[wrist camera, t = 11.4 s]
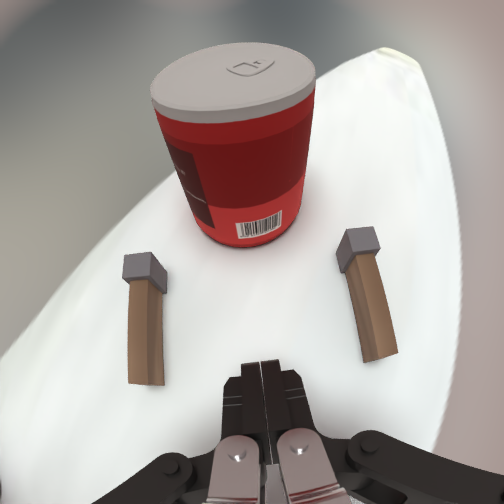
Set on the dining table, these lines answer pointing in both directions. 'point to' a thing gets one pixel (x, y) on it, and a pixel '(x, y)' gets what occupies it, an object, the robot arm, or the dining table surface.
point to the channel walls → (362, 295)
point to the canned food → (239, 136)
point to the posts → (151, 269)
